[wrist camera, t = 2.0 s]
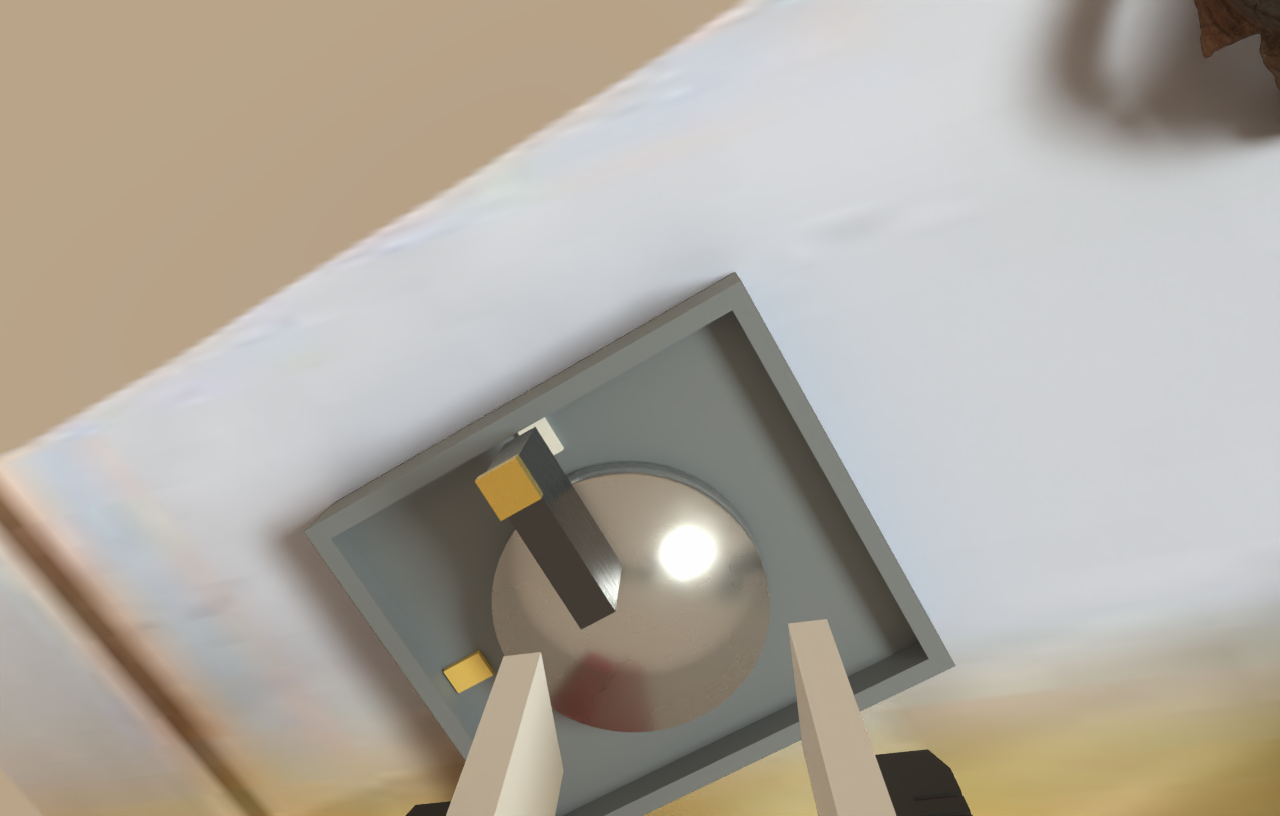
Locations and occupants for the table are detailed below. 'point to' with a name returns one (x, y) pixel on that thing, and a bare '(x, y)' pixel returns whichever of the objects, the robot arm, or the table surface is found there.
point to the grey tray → (664, 434)
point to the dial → (625, 586)
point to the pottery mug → (1241, 27)
